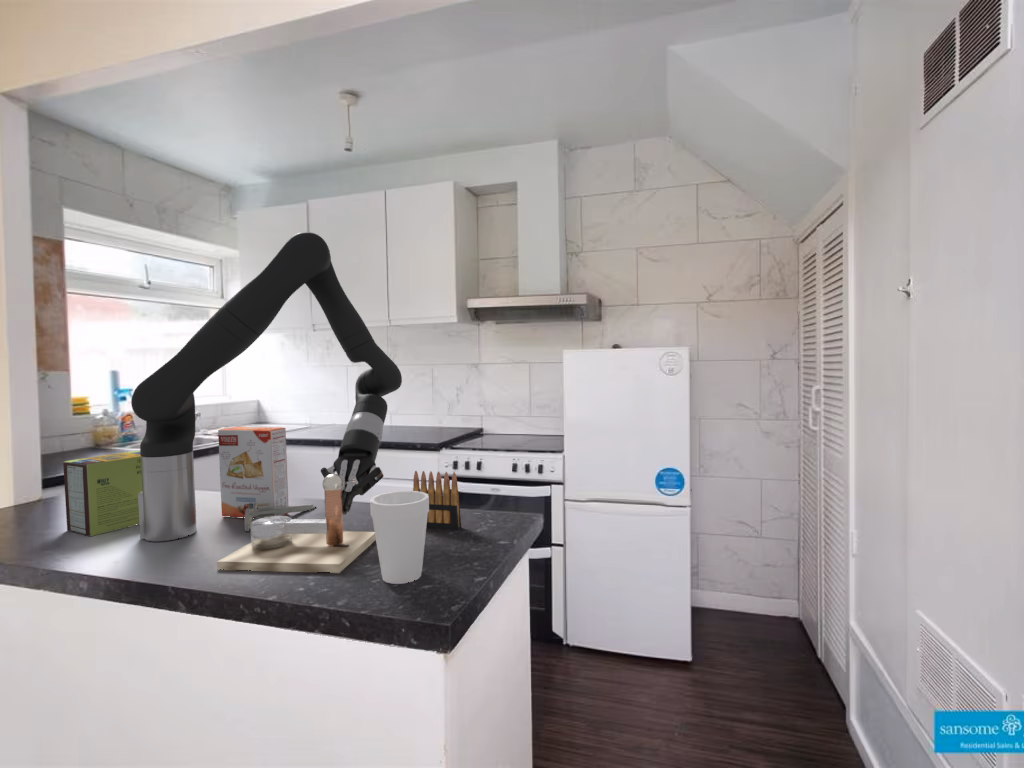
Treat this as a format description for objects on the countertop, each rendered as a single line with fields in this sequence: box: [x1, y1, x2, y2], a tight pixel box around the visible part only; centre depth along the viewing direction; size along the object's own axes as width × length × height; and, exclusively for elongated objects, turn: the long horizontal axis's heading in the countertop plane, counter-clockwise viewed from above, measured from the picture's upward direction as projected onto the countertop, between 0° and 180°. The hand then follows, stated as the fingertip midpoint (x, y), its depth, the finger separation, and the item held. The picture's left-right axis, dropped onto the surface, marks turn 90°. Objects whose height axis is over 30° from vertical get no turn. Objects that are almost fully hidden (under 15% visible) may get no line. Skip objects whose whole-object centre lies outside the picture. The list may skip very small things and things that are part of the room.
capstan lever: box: [250, 473, 344, 549], centre depth 98 cm, size 17×7×13 cm, turn 87°
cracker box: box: [217, 426, 289, 518], centre depth 124 cm, size 14×6×21 cm, turn 77°
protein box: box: [62, 449, 142, 537], centre depth 120 cm, size 10×15×16 cm
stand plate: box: [216, 530, 376, 574], centre depth 98 cm, size 22×17×2 cm
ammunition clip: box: [412, 470, 462, 531], centre depth 113 cm, size 11×2×12 cm, turn 74°
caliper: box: [244, 502, 317, 532], centre depth 121 cm, size 20×1×6 cm, turn 159°
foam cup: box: [369, 490, 429, 585], centre depth 87 cm, size 10×9×13 cm
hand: (340, 512), depth 100 cm, fingers closed
